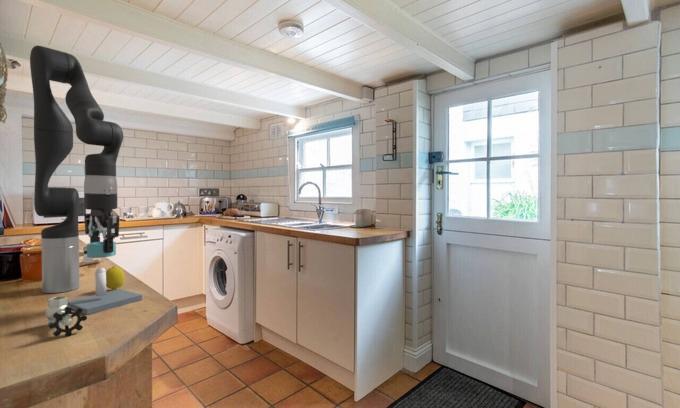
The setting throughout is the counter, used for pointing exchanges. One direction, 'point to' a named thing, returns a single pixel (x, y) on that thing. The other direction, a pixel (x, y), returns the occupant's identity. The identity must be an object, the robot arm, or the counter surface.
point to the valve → (63, 316)
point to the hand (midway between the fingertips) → (101, 251)
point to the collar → (99, 250)
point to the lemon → (114, 278)
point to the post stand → (103, 297)
